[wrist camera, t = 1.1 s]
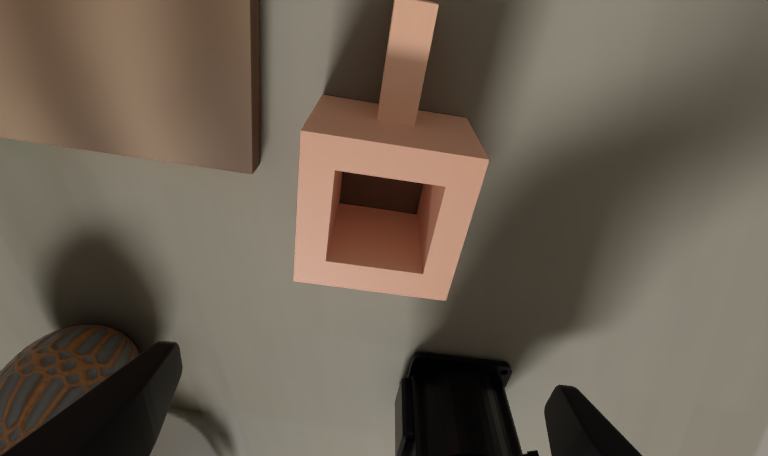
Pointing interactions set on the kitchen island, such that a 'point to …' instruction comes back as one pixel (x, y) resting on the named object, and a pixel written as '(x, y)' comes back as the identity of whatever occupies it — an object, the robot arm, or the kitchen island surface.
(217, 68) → the board
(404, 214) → the square frame with post
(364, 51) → the kitchen island surface
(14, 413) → the patterned egg
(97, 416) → the robot arm
